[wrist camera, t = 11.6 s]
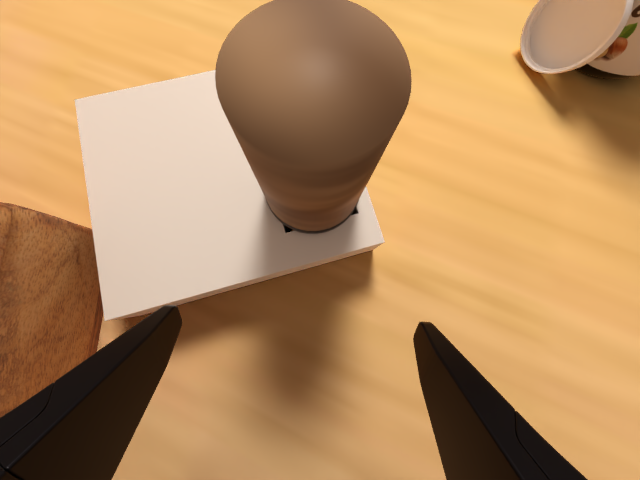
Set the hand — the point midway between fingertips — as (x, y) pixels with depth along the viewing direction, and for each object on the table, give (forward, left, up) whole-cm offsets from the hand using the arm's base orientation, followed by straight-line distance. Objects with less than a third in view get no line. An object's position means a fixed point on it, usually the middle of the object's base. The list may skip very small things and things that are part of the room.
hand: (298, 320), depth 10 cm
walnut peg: (+3, +8, -10) cm, 13 cm away
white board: (-3, +11, -11) cm, 15 cm away
